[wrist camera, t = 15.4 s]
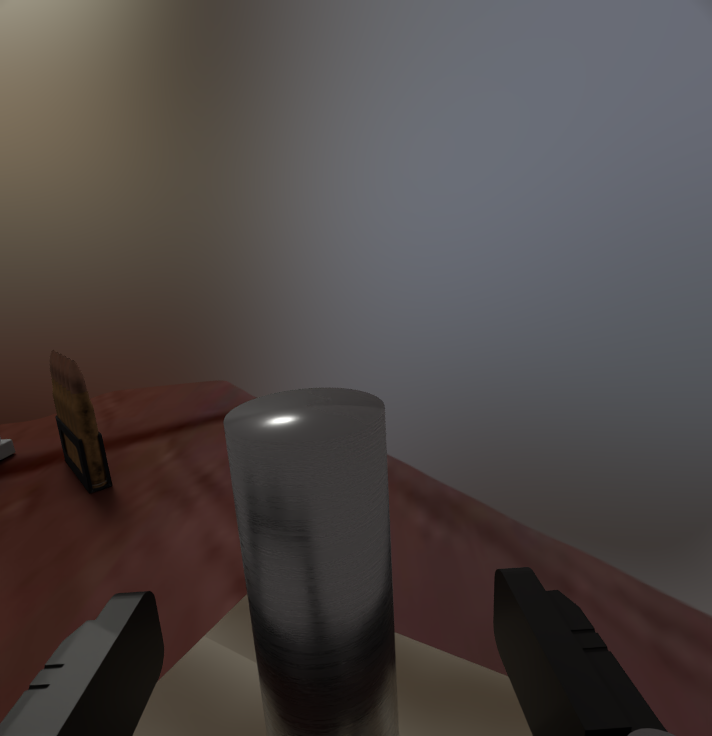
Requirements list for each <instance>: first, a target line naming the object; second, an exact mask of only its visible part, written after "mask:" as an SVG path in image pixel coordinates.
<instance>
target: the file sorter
mask: <svg viewBox="0 0 712 736" xmlns="http://www.w3.org/2000/svg"><path fill="white" fill-rule="evenodd" d="M13 453H15V449H14V446H13V442H12V440H11V439H6V440H1V439H0V460H2V459H4V458H5V457H7V456H9V455H11V454H13Z"/></svg>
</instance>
